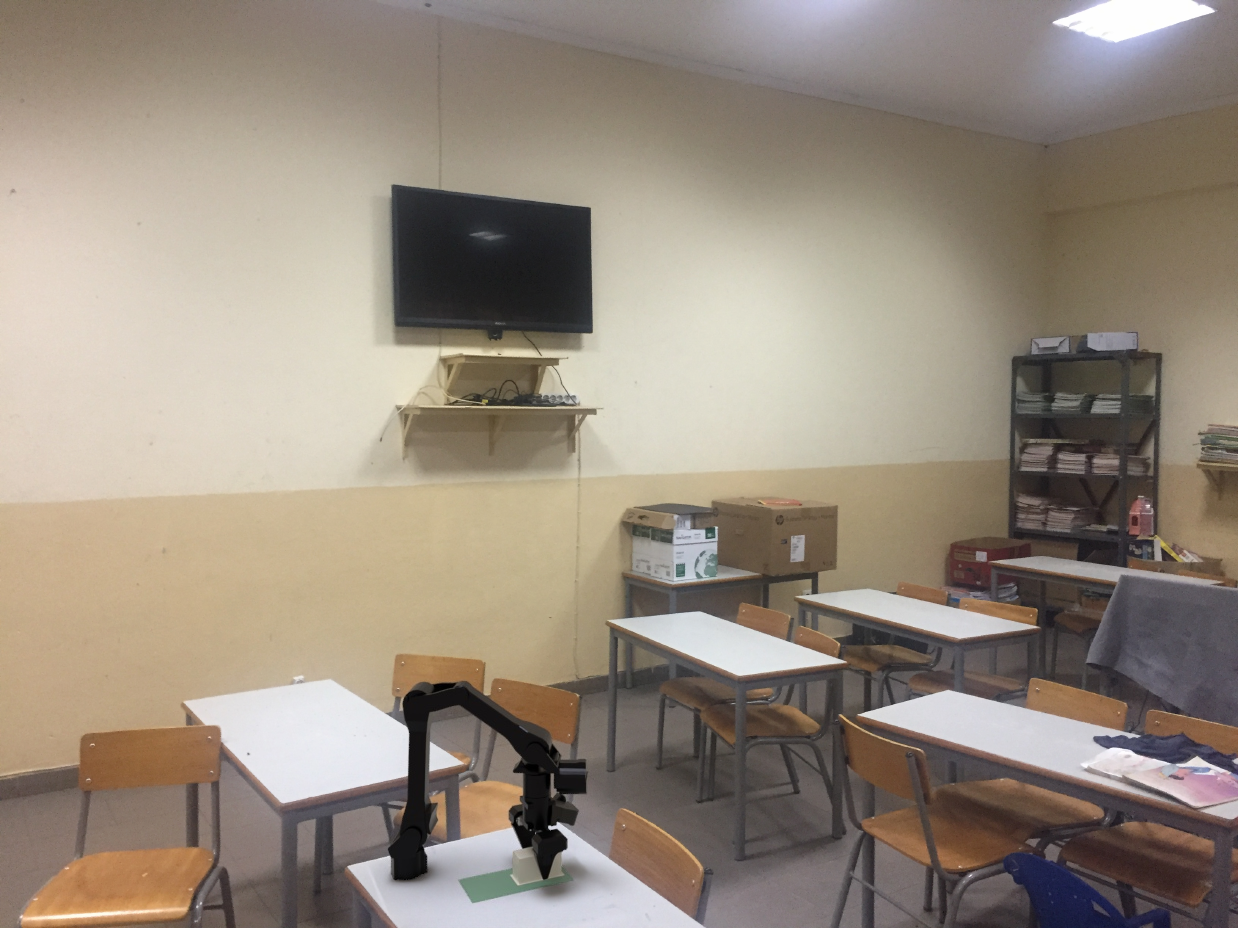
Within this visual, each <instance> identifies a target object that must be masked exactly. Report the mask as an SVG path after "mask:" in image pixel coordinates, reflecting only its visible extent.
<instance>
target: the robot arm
mask: <svg viewBox="0 0 1238 928" xmlns="http://www.w3.org/2000/svg"><path fill="white" fill-rule="evenodd" d="M401 704H402V711H403V718H404V723H405V725H406V728H407V731H408V757H407V758H408V759H407V761H408V762H407V794H406V795H407V796H406V797H407V798H406V804H405V807H404V809H403V814H402V817H401V821H400V828H399V829H398V831H397V833H396V835H395V836H394V838H393V840H392V841H391V842H390V844H389V846H388V847H387V851H388V854H389V857H390V875H391V877H392V878H393V880H394V881H398V880H399V881H411V880H412V881H413V880H415V879H417V878H419V877H421V876H423V875H425V874H427V873H428V854H427V852H426V851H425V847H424V844H426V843H427V842H428V841H427V840H428V839H429V837H430V836H431V835H432V833H433V831H434V830H435V827H436V826H437V824H438V821H439V818H438V816H437V812H438V806H439V803H438V802H432V801H431V798H430V794H429V793H430V762H431V761H430V757H431V756H430V755H431V754H430V753H431V728H432V724H433V720H434V716H435V714H436V712H438V711H441V710H445V709H448V708H452V707H456V706H458V707H459V706H460V707H461V708H462V709H464V710H465V711H466V712H468V713H469V714H471V715H473V717H475V718H477V719H478V720H480V721H481V722H482V723H484V724H485V725H487V726H488V727H489V728H491V729H492V730H493V731H494V732H497V733H498V734H499V735H501V736H503V737H504V739H505V740H507V741H508V742H509V745H511V747H512V748H513V749H514V751H515V752H516V753H517V754H518V755H519V757H520V760H519V761H518V762H516V763H515V764H514V766H513V770H512V773H514V774H522V795H519V802H520V803H519V804H514V805H511V807H510V808H509V809H508V821H509V822H510V825H511V827H512V828H513V832H514V834H515V835H516V836H515V837H516V838H517V840H518V843H519V845H520V847H521V849H524V848H529V847H533V848H532V851H533V854H534V857H535V860H536V863H537V865H538V868H539V871H540V874H541V877H542V879H543V880H545V879H548V877H549V874H550V871H551V867H552V864H553V861H554V859H555V856H556V855H557V854H558V853H559V852H561V853H563V852H564V851H567V849H568V848H569V844H568V842H569V840H568V839H569V838H567V837H566V835H564V834H563V832H562V831H561V830H559V829H558V828H553V829H550V828H549V827H555V826H556V827H557V825H558V823H560V824H561V823H562V824H564V825H565V824H566V825H569V826H571V827H574V826H575V825H576V821H577V819H578V815H579V813H580V810H579V809H578V808H577V807H576V805H575V804H573V803H571V802H570V801H568V800H567V796H565V795H584V796H585V795H588V790H589V771H588V766H587V762H588V761H587V759H586V758H578V759H562V754H561V752H560V751H559V750H558V749H557V747H556V745H554V743H553V738H552V733H550V731H549V730H548V729H546V728H544V727H542V726H540V725H538V724H536V723H534V722H531V721H528V720H523V719H520V718H519V717H517V716H515V715H514V714H513V713H512V712H510V711H509V710H506V709H505V708H504V707H503V706H501V705H500V704H498V703H497V702H496V701H495V700H493V699H491V698H490V697H489V696H487V695H486V694H484V693H483V692H481V691H480V690H478V689H477V688H475V687H474V686H473V684H472V683H471V682H469V681H468V680H459V681H455V682H454V681H450V682H445V681H442V682H441V681H440V682H435V683H430V682H428V681H420V682H417V683H415V685H413V686H412V687H411V689H410V690H409V691H408V692H407V693H406V694H405V696H404V697H403V700H402V703H401ZM552 775H553V789H555V790H556V793H555V794H554V795H553V796H552Z"/></svg>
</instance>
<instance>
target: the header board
mask: <svg viewBox="0 0 1238 928" xmlns="http://www.w3.org/2000/svg"><path fill="white" fill-rule="evenodd" d="M561 871H562V875H557V876H553V877H548V879H545V880H543V879H539V880H535V881H531V882H526V883H522V884H519V883H518V882H517V880H516V879H515V878H514V876H513V867H512V868H511V867H510V868H507V869H502V870H497V871H493V872H489V873H488V872H487V873H484V874H480V875H475V876H470V877H465V878H461V879H457V880H458V882H459V884H460V885H461V887H462V888H463V891H464V892H465V893H466V896H467V897H468V898H469V900H470V902H471V904H475V903H480V902H484V901H490V900H492V899H497V898H502V897H506V896H507V897H508V896H511V895H515V894H520V893H524V892H527V891H532V890H536V889H541V888H545V887H550V886H551V887H552V886H554V885H559V884H563V883H568V882H572V881H574V880H575V879H574V878H573V877H572V876H571V874H570V873H569V872H568V871H567V870H566V869H565V868H564V867H563V865H562V864H561Z"/></svg>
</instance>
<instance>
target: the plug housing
mask: <svg viewBox="0 0 1238 928" xmlns="http://www.w3.org/2000/svg"><path fill="white" fill-rule="evenodd" d="M532 848H533V847H529V848H524V849H522V848H521V849H520V848H519V849H515V850H512V868H513V876H514V878H515V879H516V880H517V882H518V883H519V884H522V883H526V882H531V881H535V880H539V879H542V877H541V874H540V871H539V868H538V865H537V863H536V860H535V857H534V854H533V851H532ZM561 865H562V852H559V853H558V854H557V855H556V856H555V859H554V861H553V864H552V867H551V871H550V874H549V877H553V876H557V875H562V871H561Z"/></svg>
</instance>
